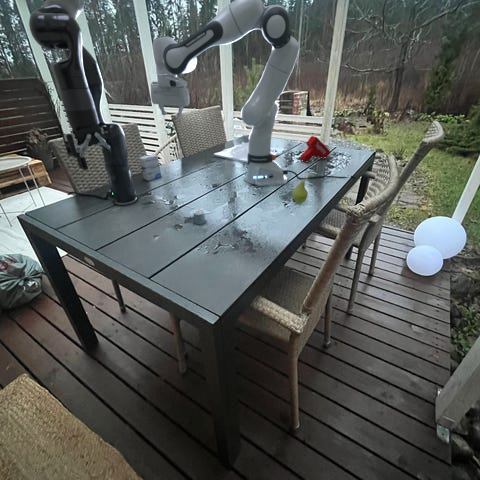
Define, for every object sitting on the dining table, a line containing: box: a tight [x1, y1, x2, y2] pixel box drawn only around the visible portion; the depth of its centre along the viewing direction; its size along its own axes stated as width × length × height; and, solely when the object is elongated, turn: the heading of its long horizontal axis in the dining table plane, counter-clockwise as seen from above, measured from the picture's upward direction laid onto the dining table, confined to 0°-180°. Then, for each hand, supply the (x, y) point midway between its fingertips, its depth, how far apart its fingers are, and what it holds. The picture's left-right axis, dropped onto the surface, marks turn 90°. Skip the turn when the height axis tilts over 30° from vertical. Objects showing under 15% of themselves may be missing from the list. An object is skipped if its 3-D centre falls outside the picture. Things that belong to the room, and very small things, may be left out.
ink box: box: [138, 154, 162, 182], centre depth 145 cm, size 8×5×12 cm, turn 135°
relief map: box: [213, 141, 280, 164], centre depth 184 cm, size 27×35×5 cm
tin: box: [193, 209, 206, 225], centre depth 106 cm, size 4×4×4 cm
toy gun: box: [300, 135, 332, 164], centre depth 172 cm, size 18×4×15 cm
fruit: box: [291, 174, 311, 204], centre depth 118 cm, size 7×8×12 cm
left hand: (97, 165), depth 83 cm, fingers open, 8 cm apart
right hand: (171, 115), depth 128 cm, fingers open, 8 cm apart
